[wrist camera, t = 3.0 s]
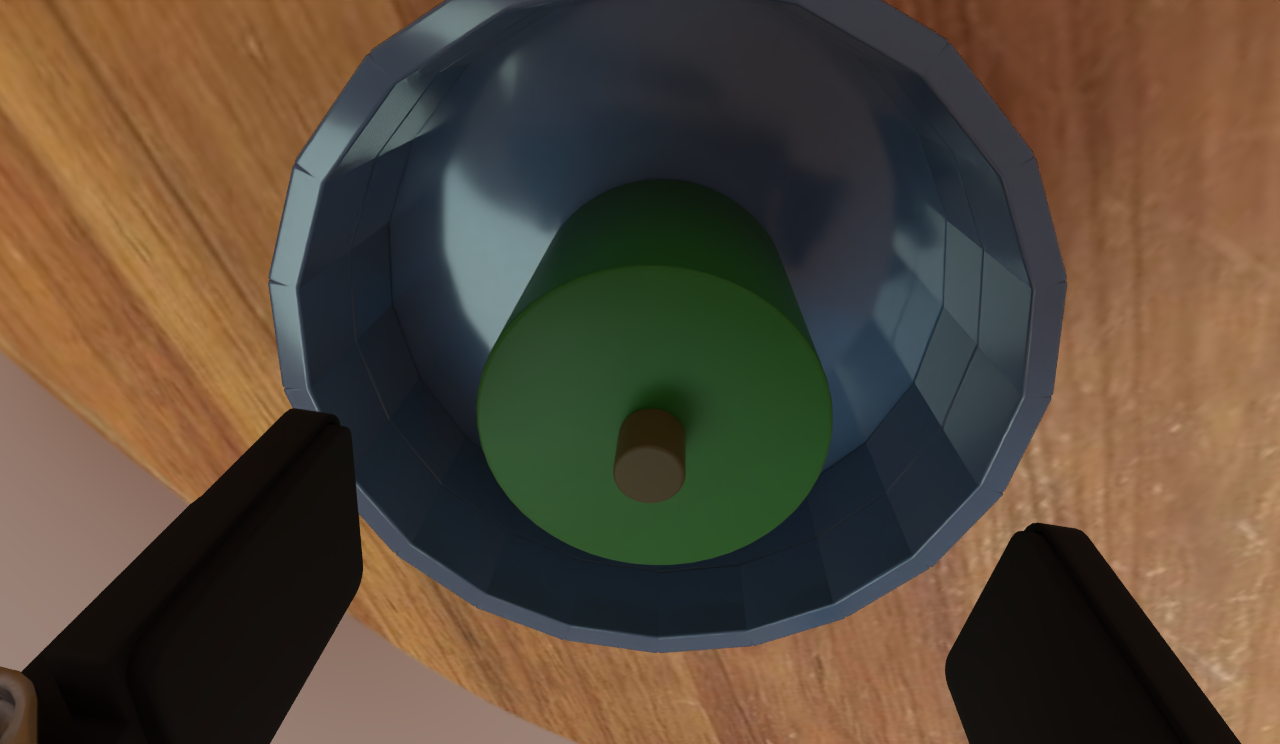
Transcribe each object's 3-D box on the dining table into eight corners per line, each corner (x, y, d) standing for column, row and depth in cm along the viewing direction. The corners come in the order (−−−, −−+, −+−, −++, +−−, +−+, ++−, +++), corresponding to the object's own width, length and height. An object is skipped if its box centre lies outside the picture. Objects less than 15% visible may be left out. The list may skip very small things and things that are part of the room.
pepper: (531, 392, 19) (454, 587, 13) (546, 159, 16) (455, 263, 9) (756, 425, 19) (793, 635, 13) (816, 200, 16) (904, 330, 10)
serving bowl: (388, 482, 21) (312, 605, 17) (356, -93, 14) (207, -138, 10) (860, 550, 22) (905, 689, 17) (1070, 20, 14) (1243, 27, 10)
